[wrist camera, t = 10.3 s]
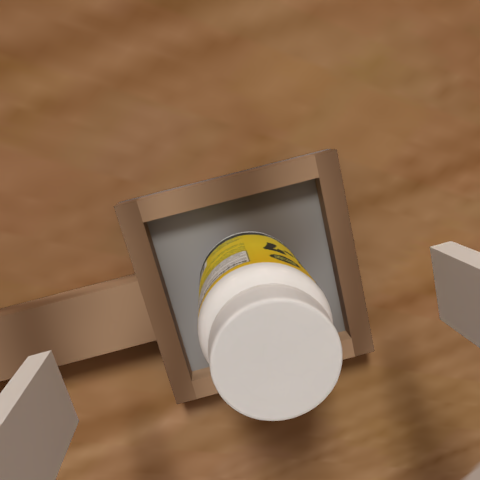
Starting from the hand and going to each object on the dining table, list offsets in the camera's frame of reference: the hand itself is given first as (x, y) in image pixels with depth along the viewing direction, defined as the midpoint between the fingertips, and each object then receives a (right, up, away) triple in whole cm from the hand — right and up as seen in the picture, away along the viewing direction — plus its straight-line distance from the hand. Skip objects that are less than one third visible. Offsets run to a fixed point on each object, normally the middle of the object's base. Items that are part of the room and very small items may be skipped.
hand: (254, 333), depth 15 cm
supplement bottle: (0, +1, +6) cm, 7 cm away
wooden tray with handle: (-8, 0, +7) cm, 10 cm away
